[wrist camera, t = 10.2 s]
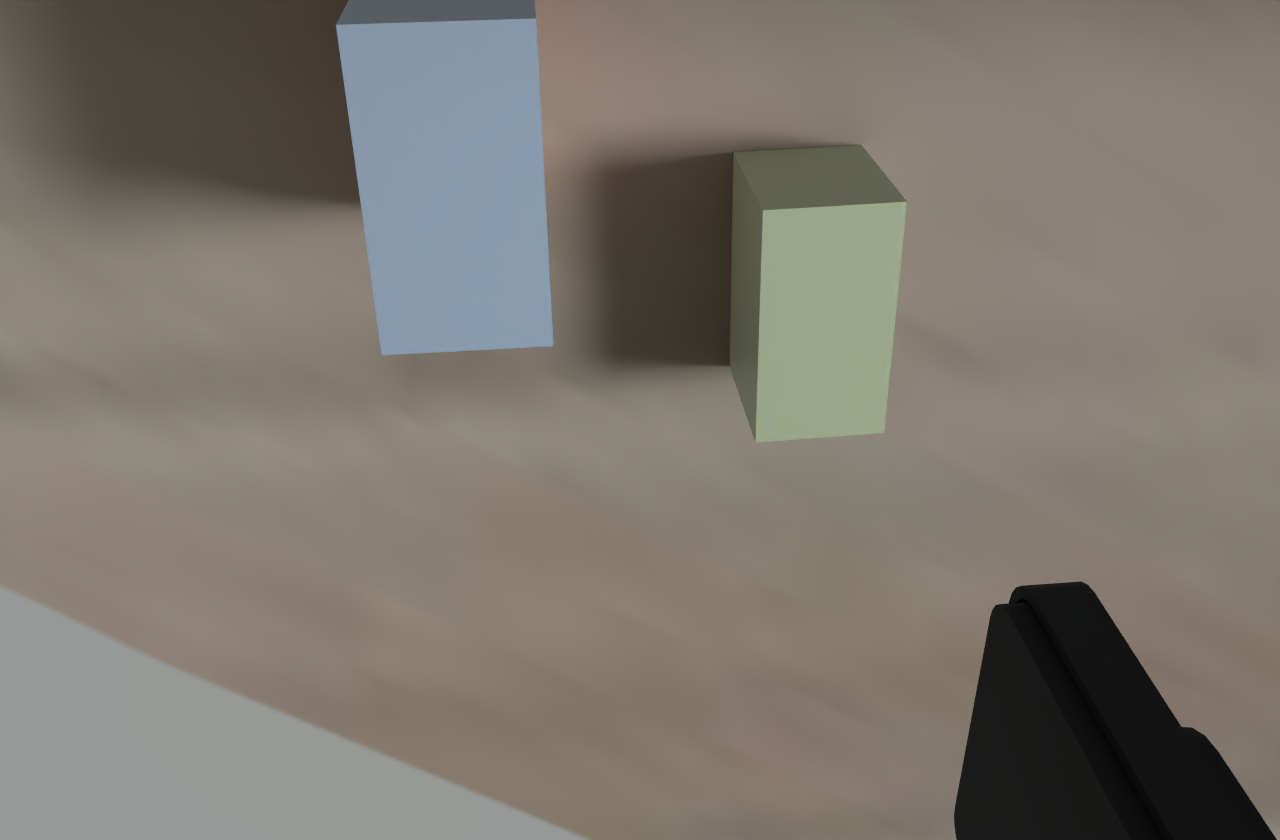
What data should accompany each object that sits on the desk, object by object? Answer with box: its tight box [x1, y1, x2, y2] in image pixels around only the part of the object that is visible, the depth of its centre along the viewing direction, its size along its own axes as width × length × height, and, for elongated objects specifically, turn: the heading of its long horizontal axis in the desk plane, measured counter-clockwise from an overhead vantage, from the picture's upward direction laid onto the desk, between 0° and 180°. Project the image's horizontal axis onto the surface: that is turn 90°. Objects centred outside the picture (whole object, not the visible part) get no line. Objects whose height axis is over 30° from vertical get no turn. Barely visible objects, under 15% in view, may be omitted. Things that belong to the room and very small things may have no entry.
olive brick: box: [730, 145, 907, 442], centre depth 29 cm, size 3×6×4 cm, turn 2°
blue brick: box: [336, 0, 553, 355], centre depth 22 cm, size 3×6×4 cm, turn 1°
